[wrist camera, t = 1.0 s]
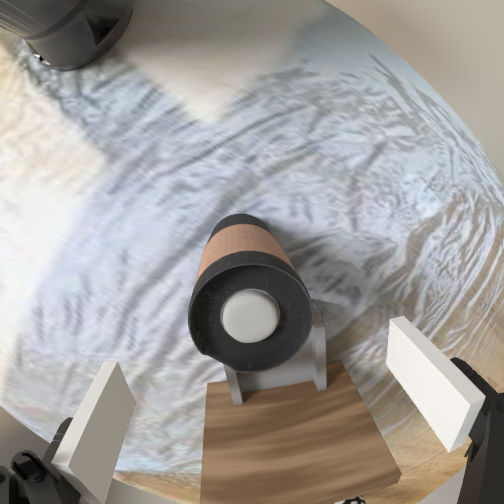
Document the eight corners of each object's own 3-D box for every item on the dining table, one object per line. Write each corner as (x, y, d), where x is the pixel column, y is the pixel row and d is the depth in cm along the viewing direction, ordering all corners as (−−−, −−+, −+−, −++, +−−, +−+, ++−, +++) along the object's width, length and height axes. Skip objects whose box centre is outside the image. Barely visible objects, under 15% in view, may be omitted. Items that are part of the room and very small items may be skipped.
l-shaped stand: (189, 317, 39) (160, 452, 18) (340, 293, 39) (427, 400, 18) (210, 393, 42) (204, 520, 21) (340, 370, 43) (397, 482, 22)
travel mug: (266, 206, 36) (309, 249, 16) (276, 267, 38) (319, 362, 19) (202, 217, 36) (170, 273, 16) (214, 278, 38) (202, 383, 18)
